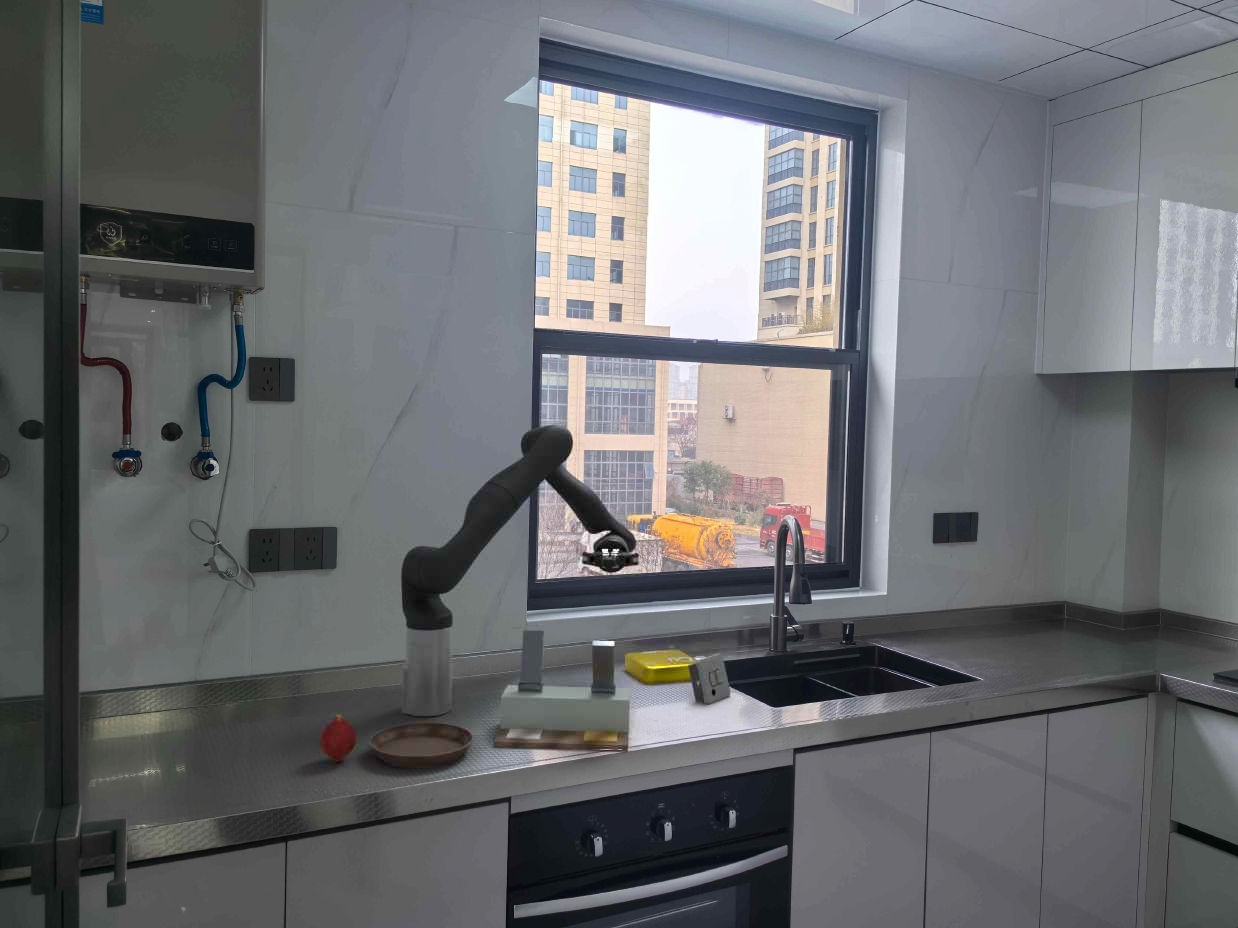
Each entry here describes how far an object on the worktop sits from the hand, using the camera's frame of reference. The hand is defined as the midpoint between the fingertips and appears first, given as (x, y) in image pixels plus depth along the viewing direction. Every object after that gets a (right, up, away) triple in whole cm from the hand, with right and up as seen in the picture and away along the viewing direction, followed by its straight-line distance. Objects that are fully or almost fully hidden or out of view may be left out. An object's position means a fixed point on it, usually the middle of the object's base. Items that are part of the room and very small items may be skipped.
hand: (608, 563), depth 177 cm
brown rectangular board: (-8, -30, -15) cm, 35 cm away
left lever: (-15, -22, -13) cm, 30 cm away
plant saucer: (-32, -30, -28) cm, 52 cm away
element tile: (+13, -30, +28) cm, 43 cm away
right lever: (-1, -22, -14) cm, 26 cm away
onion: (-46, -30, -32) cm, 63 cm away
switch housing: (-8, -29, -13) cm, 33 cm away
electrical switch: (+22, -31, +9) cm, 39 cm away
